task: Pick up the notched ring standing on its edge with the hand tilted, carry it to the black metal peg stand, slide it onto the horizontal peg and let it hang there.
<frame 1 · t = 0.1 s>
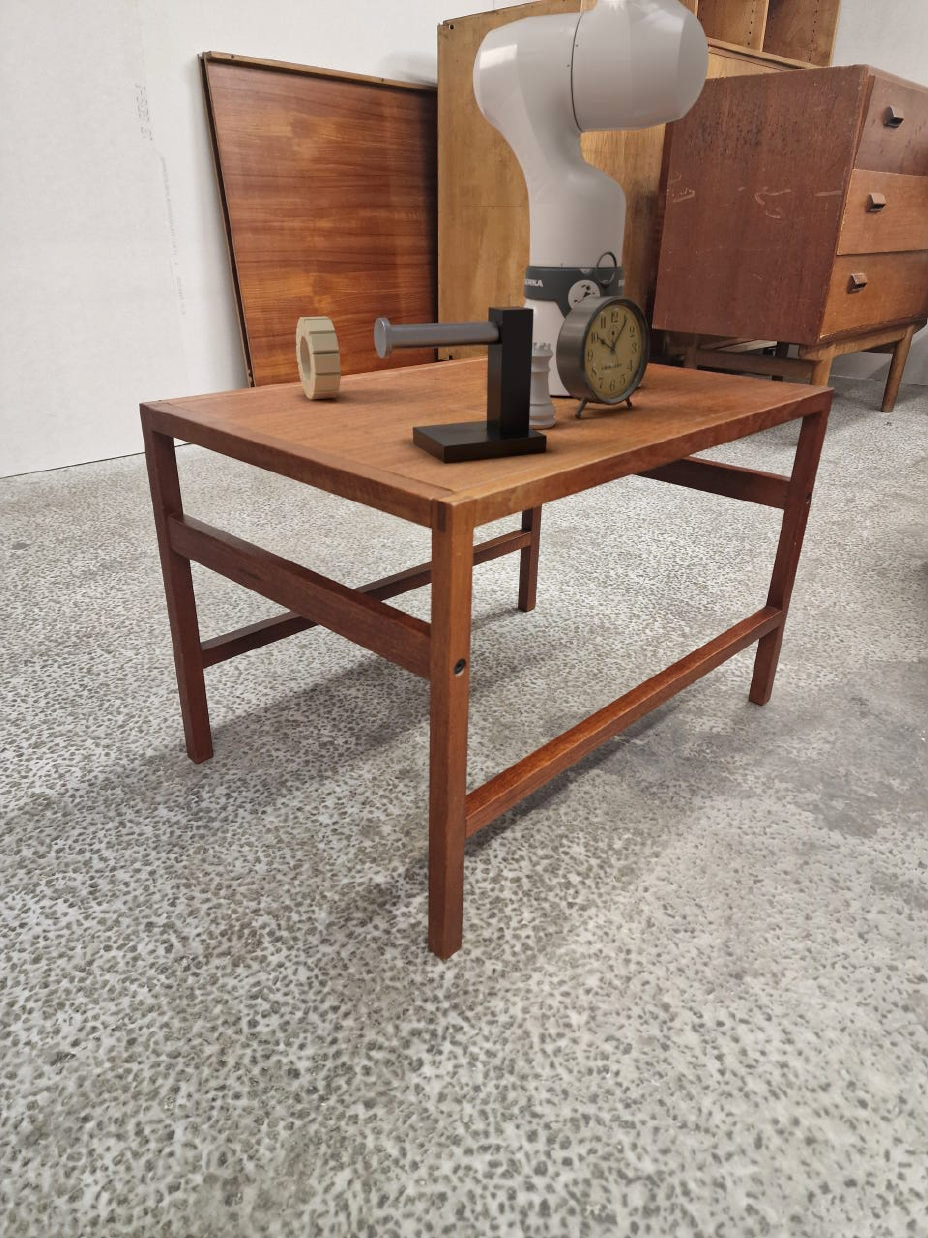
alarm clock: (596, 413, 89), on the table
notched ring: (320, 397, 96), on the table
rook chess piece: (534, 426, 83), on the table
peg stand: (507, 444, 75), on the table
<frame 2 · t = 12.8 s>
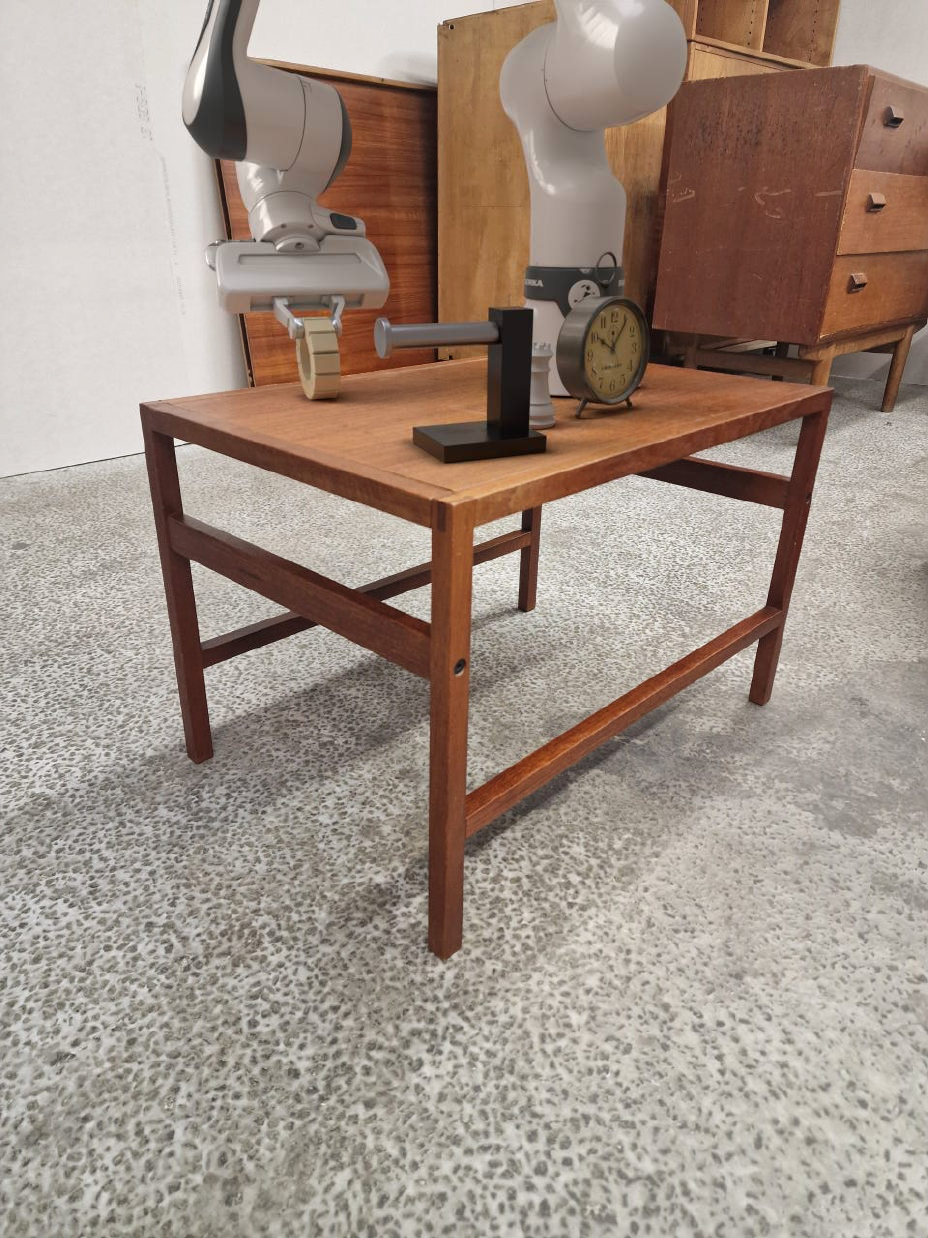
hand: (317, 334, 92), 7 cm above the table, tool tilted 45°, fingers closed on notched ring, 3 cm apart
notched ring: (320, 397, 96), on the table, touching gripper
everything else where it was.
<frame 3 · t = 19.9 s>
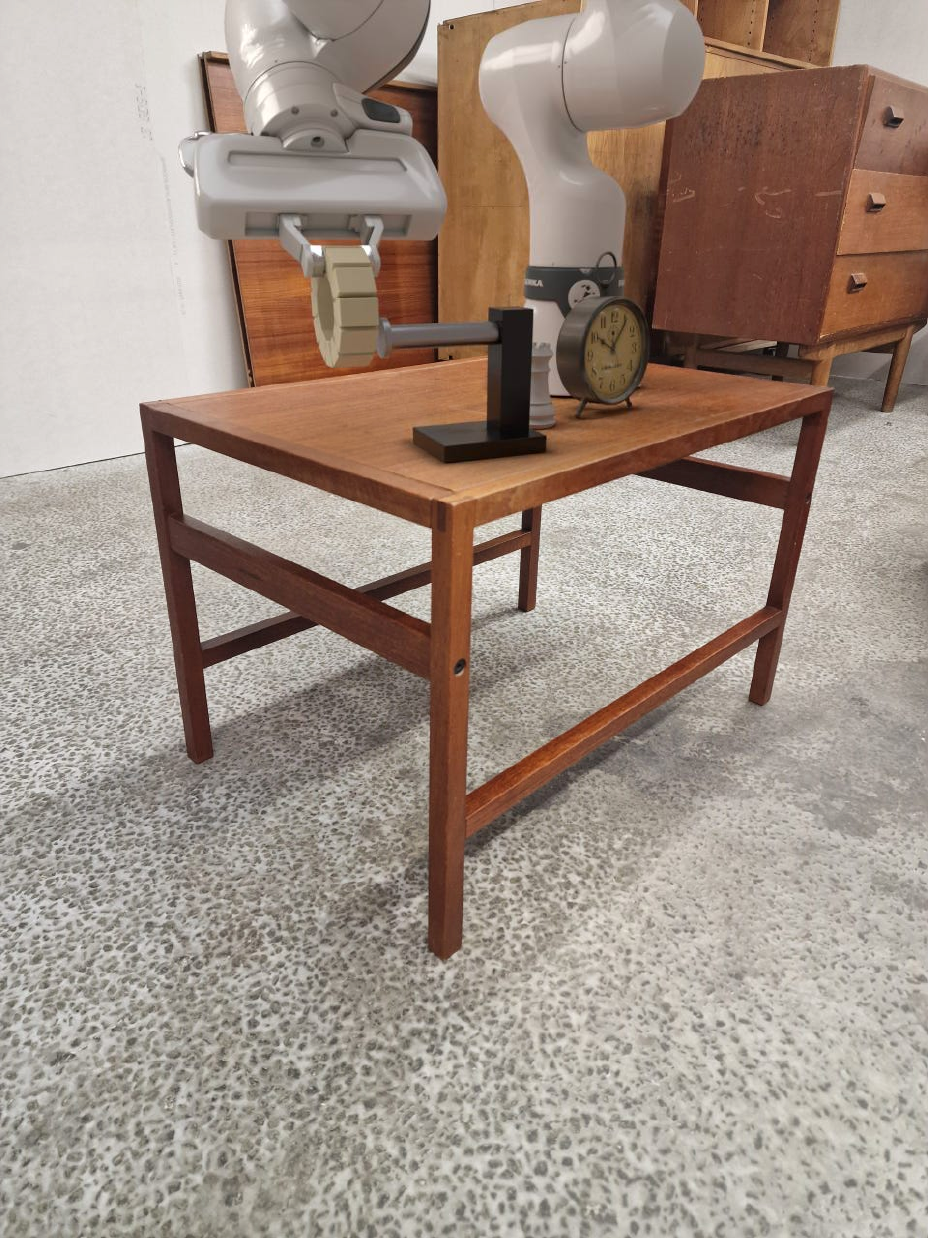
hand: (344, 271, 63), 15 cm above the table, tool tilted 45°, fingers closed on notched ring, 3 cm apart
notched ring: (346, 365, 66), point 8 cm above the table, touching gripper
everything else where it was.
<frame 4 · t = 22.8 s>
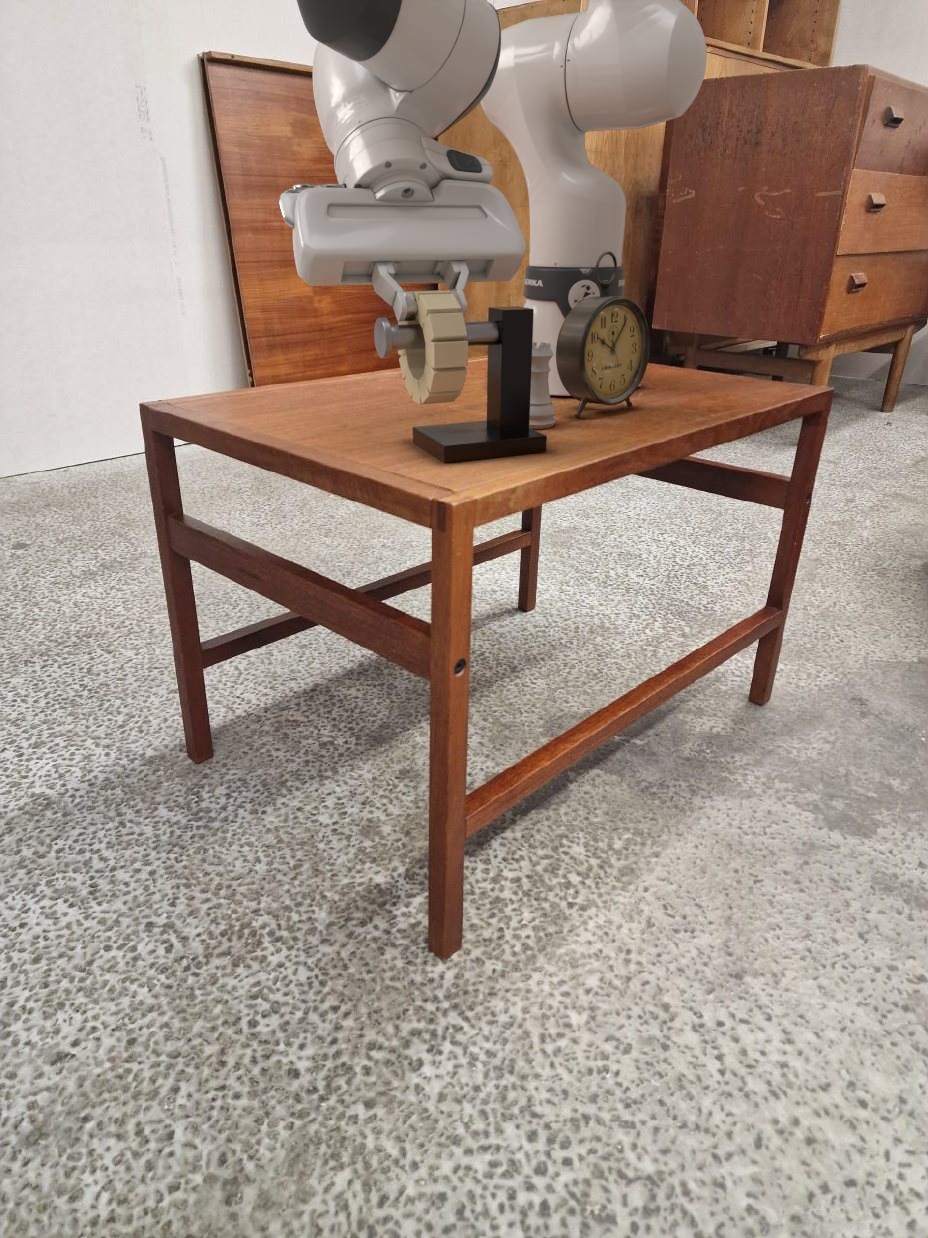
hand: (433, 315, 67), 12 cm above the table, tool tilted 45°, fingers closed on notched ring, 3 cm apart
notched ring: (432, 401, 71), point 5 cm above the table, touching gripper
everything else where it was.
when the fingers open (12 cm above the table, at t = 27.0 s): notched ring drops 1 cm, resting on peg stand.
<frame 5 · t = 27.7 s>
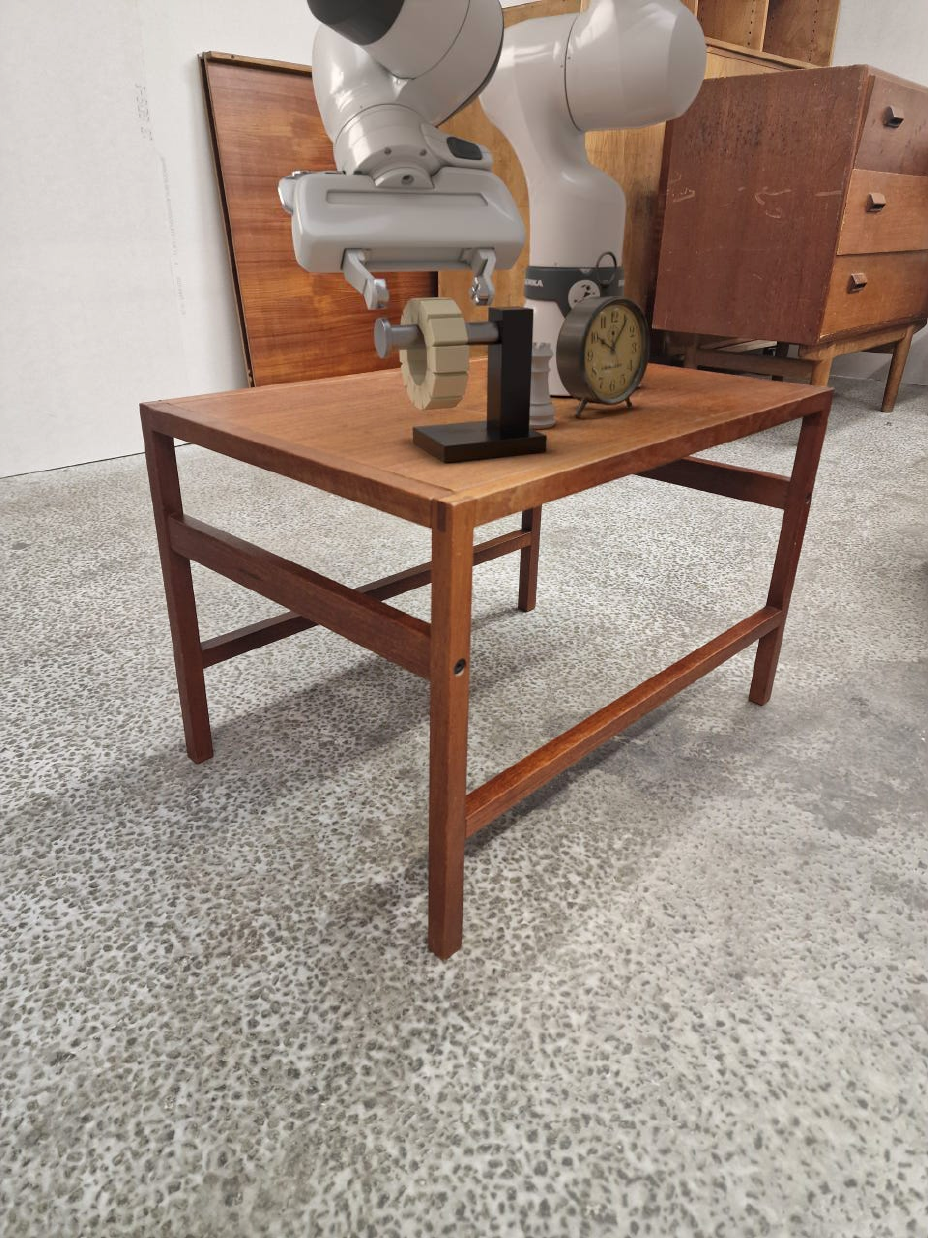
hand: (433, 302, 67), 13 cm above the table, tool tilted 45°, fingers open, 8 cm apart
notched ring: (434, 407, 71), point 4 cm above the table, touching peg stand
everything else where it was.
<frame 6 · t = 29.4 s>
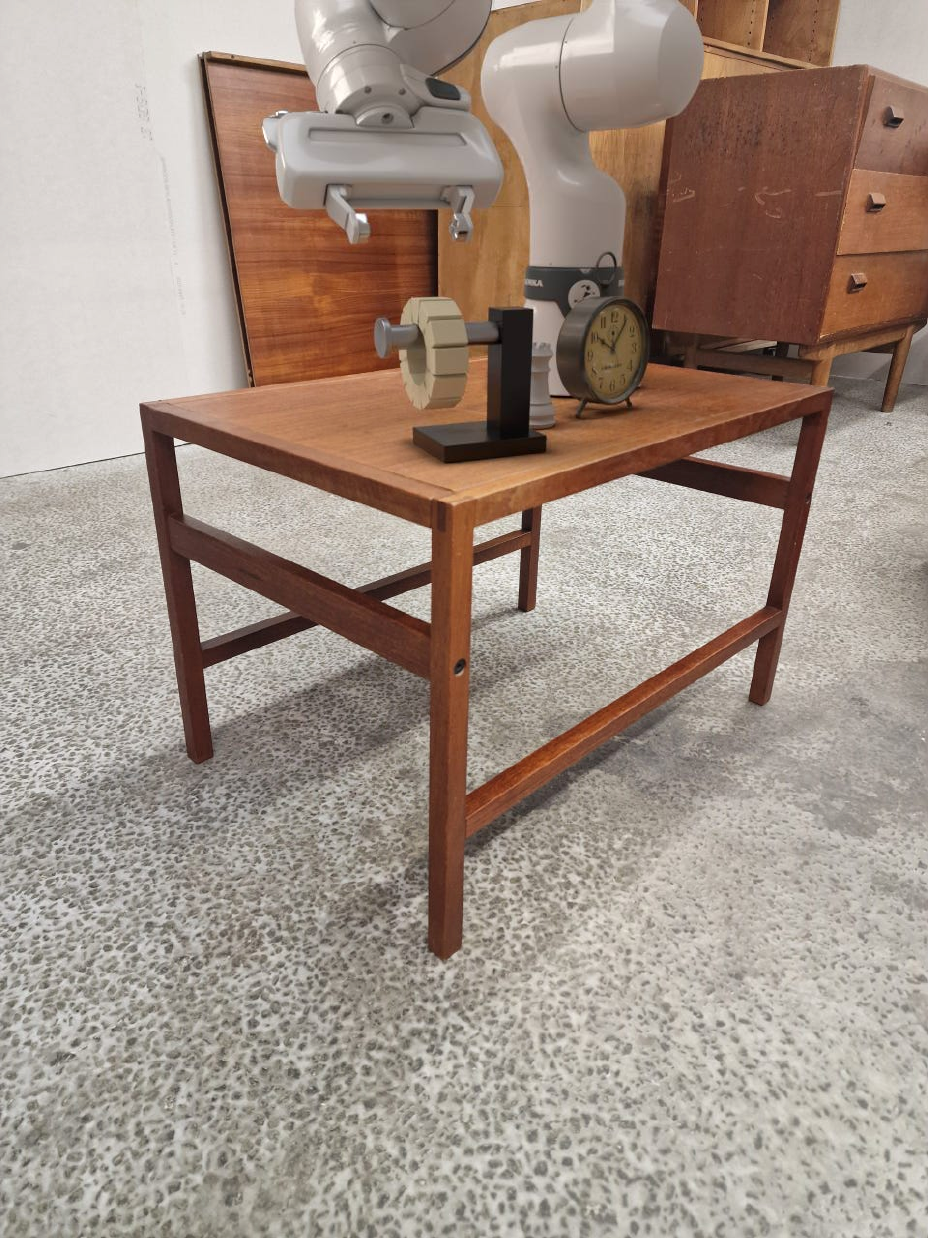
hand: (413, 237, 69), 18 cm above the table, tool tilted 45°, fingers open, 8 cm apart
nothing on the table moved.
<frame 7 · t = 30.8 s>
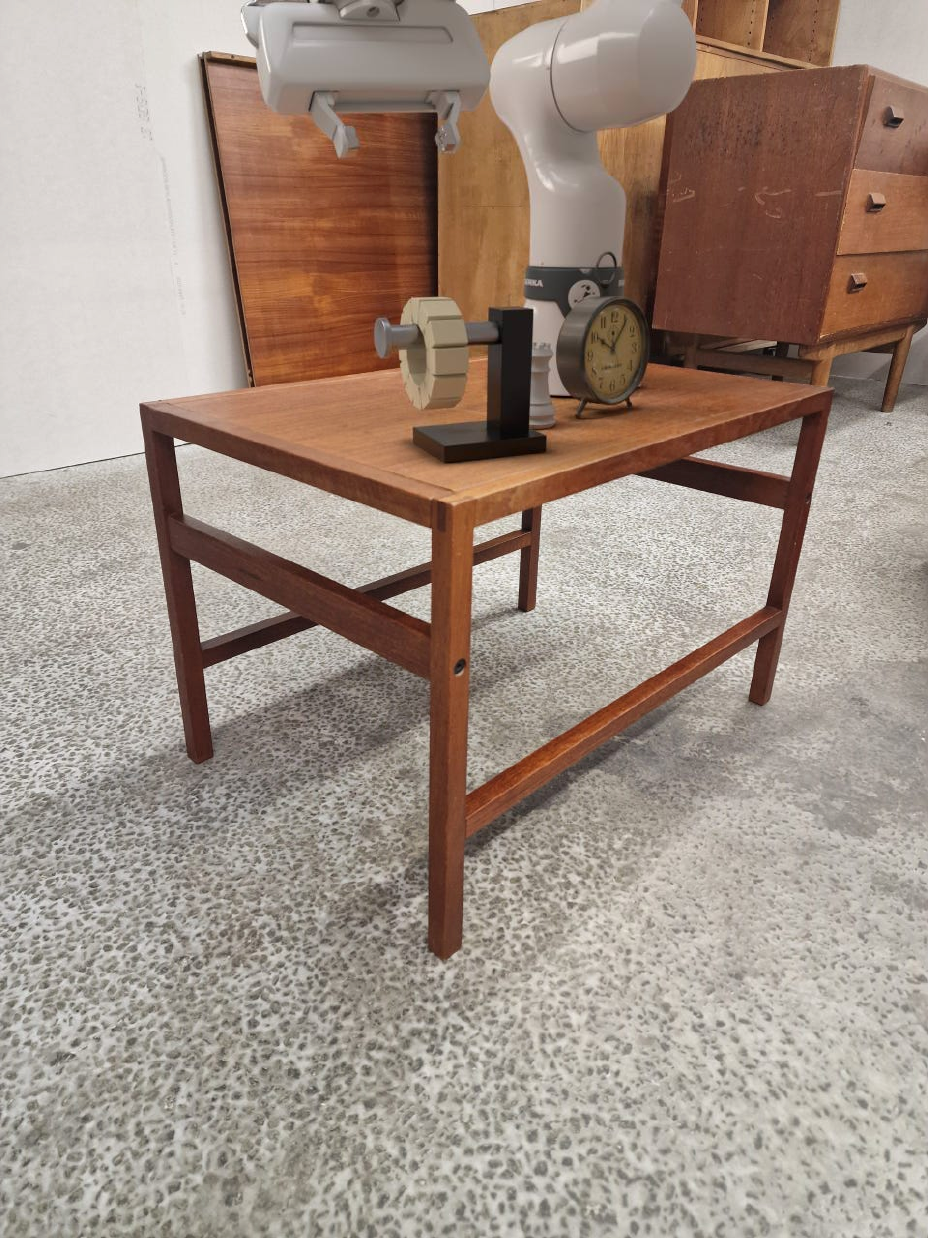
hand: (401, 151, 68), 24 cm above the table, tool tilted 35°, fingers open, 8 cm apart
nothing on the table moved.
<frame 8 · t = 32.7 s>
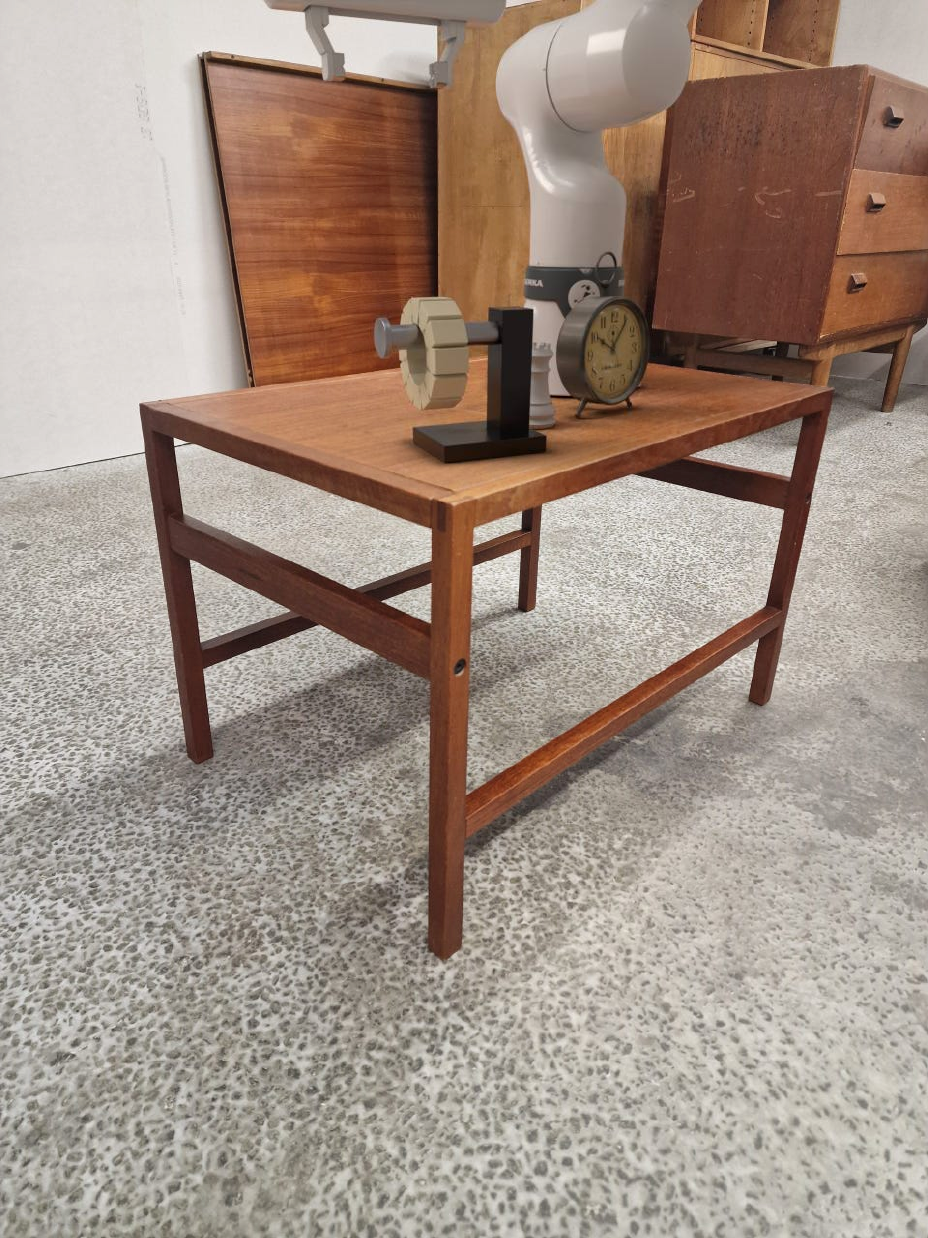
hand: (388, 84, 67), 29 cm above the table, tool pointing down, fingers open, 8 cm apart
nothing on the table moved.
at the end: notched ring 0.1 cm from the target spot on the peg stand, point 4.0 cm above the peg stand's base; notched ring touching peg stand; the gripper is holding nothing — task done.
